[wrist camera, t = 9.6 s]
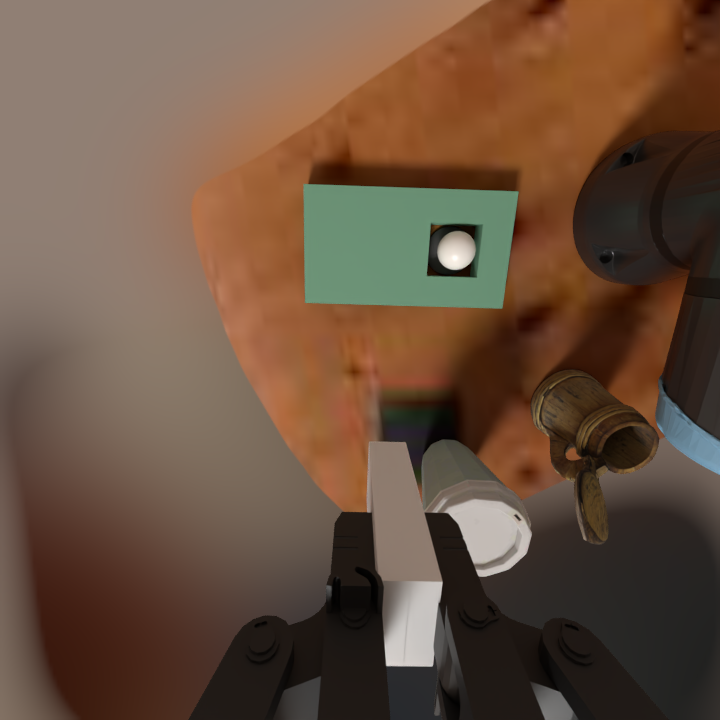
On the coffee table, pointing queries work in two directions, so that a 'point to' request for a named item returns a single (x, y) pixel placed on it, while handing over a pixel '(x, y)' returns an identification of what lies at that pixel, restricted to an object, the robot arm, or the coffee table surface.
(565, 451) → the wooden mug
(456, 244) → the ball
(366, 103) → the coffee table surface
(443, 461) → the disposable coffee cup
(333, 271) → the putting mat
